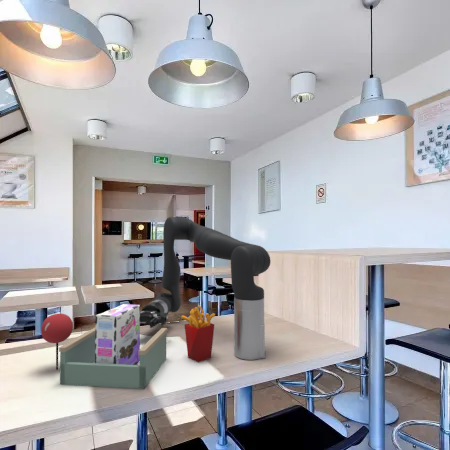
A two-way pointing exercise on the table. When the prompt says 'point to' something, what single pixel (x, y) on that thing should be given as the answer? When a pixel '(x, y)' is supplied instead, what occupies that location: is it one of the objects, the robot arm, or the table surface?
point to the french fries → (199, 335)
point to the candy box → (118, 335)
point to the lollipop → (56, 330)
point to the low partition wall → (109, 373)
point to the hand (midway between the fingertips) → (137, 324)
